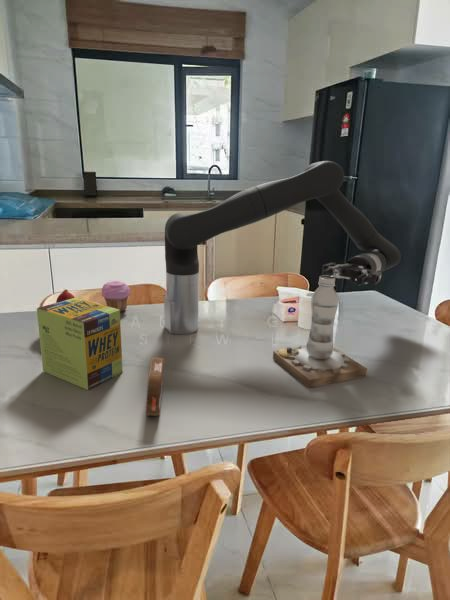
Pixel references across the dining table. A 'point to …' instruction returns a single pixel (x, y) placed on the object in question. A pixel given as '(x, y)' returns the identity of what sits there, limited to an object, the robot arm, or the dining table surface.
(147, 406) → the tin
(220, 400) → the dining table surface
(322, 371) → the gear board
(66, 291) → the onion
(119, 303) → the cupcake
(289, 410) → the dining table surface
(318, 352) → the plastic bottle
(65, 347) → the protein box
